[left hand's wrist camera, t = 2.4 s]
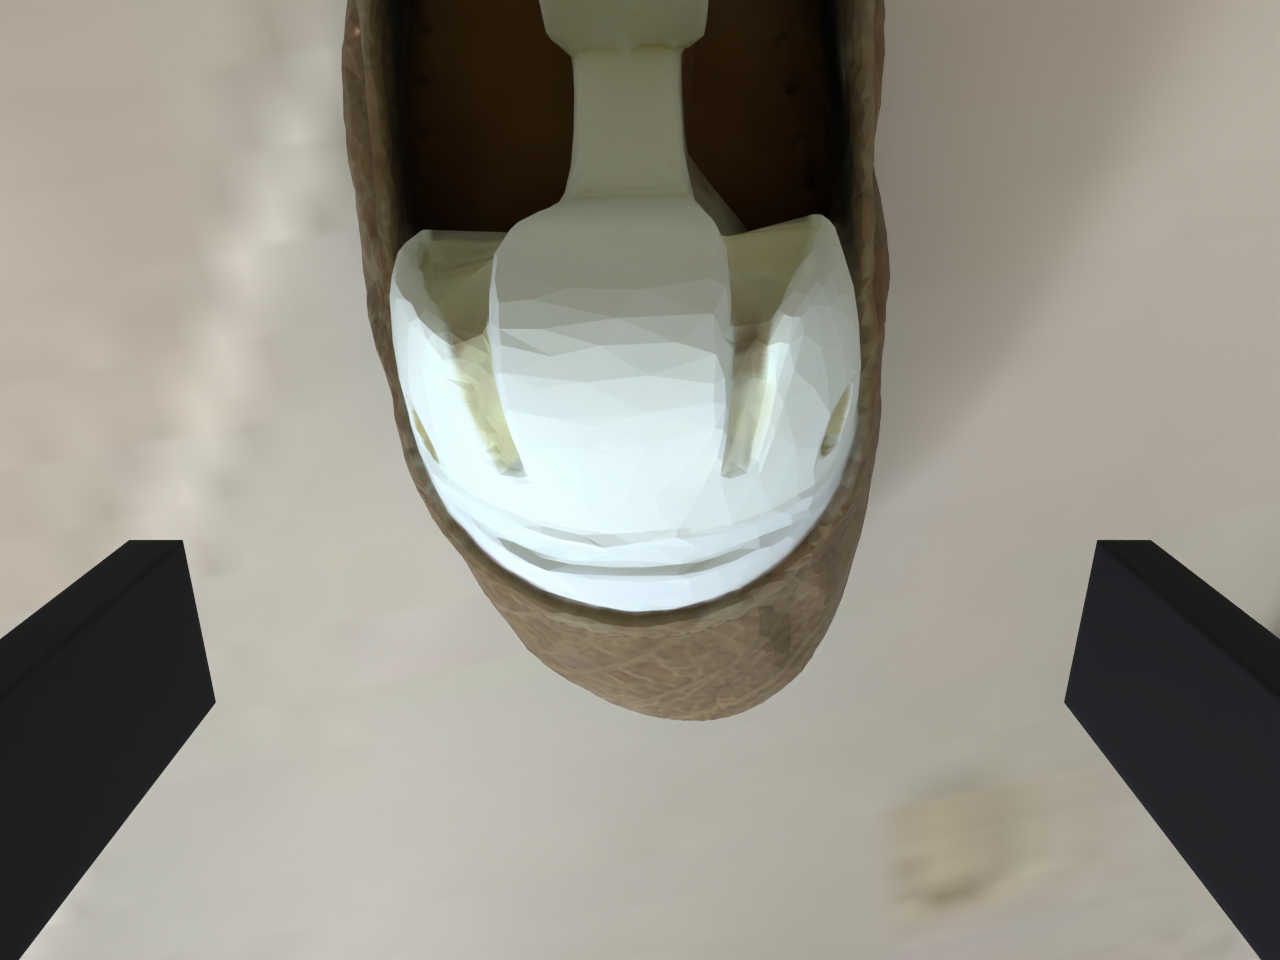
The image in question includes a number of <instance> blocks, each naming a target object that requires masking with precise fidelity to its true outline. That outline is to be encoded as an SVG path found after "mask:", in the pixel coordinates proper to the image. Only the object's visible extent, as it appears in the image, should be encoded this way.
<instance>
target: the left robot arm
mask: <svg viewBox="0 0 1280 960" xmlns="http://www.w3.org/2000/svg"><path fill="white" fill-rule="evenodd" d="M215 703H216V701H215V696H214V691H213V686H212V681H211V676H210V672H209V667H208V662H207V657H206V652H205V647H204V642H203V637H202V632H201V627H200V623H199V618H198V613H197V608H196V603H195V598H194V593H193V588H192V583H191V578H190V574H189V569H188V564H187V559H186V554H185V549H184V544H183V540H129V541H128V542H126V543H125V544H124V545H122V546H121V547H120V548H118V549H117V550H116V551H115V552H113V553H112V554H111V555H109V556H108V557H107V558H105V559H104V560H103V561H101V562H100V563H99V564H98V565H96V566H95V567H94V568H92V569H91V570H90V571H88V572H87V573H86V574H85V575H83V576H82V577H81V578H79V579H78V580H77V581H75V582H74V583H73V584H72V585H70V586H69V587H68V588H66V589H65V590H64V591H62V592H61V593H60V594H58V595H57V596H56V597H55V598H53V599H52V600H51V601H49V602H48V603H47V604H45V605H44V606H43V607H42V608H40V609H39V610H38V611H36V612H35V613H34V614H32V615H31V616H30V617H29V618H27V619H26V620H25V621H23V622H22V623H21V624H19V625H18V626H17V627H16V628H14V629H13V630H12V631H10V632H9V633H8V634H6V635H5V636H4V637H2V638H1V639H0V960H19V959H20V958H21V956H22V955H23V954H24V952H25V951H26V950H27V948H28V947H29V946H30V945H31V943H32V942H33V941H34V939H35V938H36V937H37V935H38V934H39V933H40V931H41V930H42V929H43V928H44V926H45V925H46V924H47V922H48V921H49V920H50V918H51V917H52V916H53V914H54V913H55V912H56V911H57V909H58V908H59V907H60V905H61V904H62V903H63V901H64V900H65V899H66V897H67V896H68V895H69V894H70V892H71V891H72V890H73V888H74V887H75V886H76V884H77V883H78V882H79V880H80V879H81V878H82V877H83V875H84V874H85V873H86V871H87V870H88V869H89V867H90V866H91V865H92V864H93V862H94V861H95V860H96V858H97V857H98V856H99V854H100V853H101V852H102V850H103V849H104V848H105V847H106V845H107V844H108V843H109V841H110V840H111V839H112V837H113V836H114V835H115V833H116V832H117V831H118V830H119V828H120V827H121V826H122V824H123V823H124V822H125V820H126V819H127V818H128V816H129V815H130V814H131V813H132V811H133V810H134V809H135V807H136V806H137V805H138V803H139V802H140V801H141V799H142V798H143V797H144V796H145V794H146V793H147V792H148V790H149V789H150V788H151V786H152V785H153V784H154V782H155V781H156V780H157V779H158V777H159V776H160V775H161V773H162V772H163V771H164V769H165V768H166V767H167V766H168V764H169V763H170V762H171V760H172V759H173V758H174V756H175V755H176V754H177V752H178V751H179V750H180V749H181V747H182V746H183V745H184V743H185V742H186V741H187V739H188V738H189V737H190V735H191V734H192V733H193V732H194V730H195V729H196V728H197V726H198V725H199V724H200V722H201V721H202V720H203V718H204V717H205V716H206V715H207V713H208V712H209V711H210V709H211V708H212V707H213V705H214V704H215ZM1064 703H1065V704H1066V705H1067V707H1068V708H1069V709H1070V711H1071V712H1072V713H1073V715H1074V716H1075V717H1076V718H1077V720H1078V721H1079V722H1080V724H1081V725H1082V726H1083V728H1084V729H1085V730H1086V732H1087V733H1088V734H1089V735H1090V737H1091V738H1092V739H1093V741H1094V742H1095V743H1096V745H1097V746H1098V747H1099V749H1100V750H1101V751H1102V752H1103V754H1104V755H1105V756H1106V758H1107V759H1108V760H1109V762H1110V763H1111V764H1112V766H1113V767H1114V768H1115V769H1116V771H1117V772H1118V773H1119V775H1120V776H1121V777H1122V779H1123V780H1124V781H1125V782H1126V784H1127V785H1128V786H1129V788H1130V789H1131V790H1132V792H1133V793H1134V794H1135V796H1136V797H1137V798H1138V799H1139V801H1140V802H1141V803H1142V805H1143V806H1144V807H1145V809H1146V810H1147V811H1148V813H1149V814H1150V815H1151V816H1152V818H1153V819H1154V820H1155V822H1156V823H1157V824H1158V826H1159V827H1160V828H1161V830H1162V831H1163V832H1164V833H1165V835H1166V836H1167V837H1168V839H1169V840H1170V841H1171V843H1172V844H1173V845H1174V847H1175V848H1176V849H1177V850H1178V852H1179V853H1180V854H1181V856H1182V857H1183V858H1184V860H1185V861H1186V862H1187V864H1188V865H1189V866H1190V867H1191V869H1192V870H1193V871H1194V873H1195V874H1196V875H1197V877H1198V878H1199V879H1200V880H1201V882H1202V883H1203V884H1204V886H1205V887H1206V888H1207V890H1208V891H1209V892H1210V894H1211V895H1212V896H1213V897H1214V899H1215V900H1216V901H1217V903H1218V904H1219V905H1220V907H1221V908H1222V909H1223V911H1224V912H1225V913H1226V914H1227V916H1228V917H1229V918H1230V920H1231V921H1232V922H1233V924H1234V925H1235V926H1236V928H1237V929H1238V930H1239V931H1240V933H1241V934H1242V935H1243V937H1244V938H1245V939H1246V941H1247V942H1248V943H1249V945H1250V946H1251V947H1252V948H1253V950H1254V951H1255V952H1256V954H1257V955H1258V956H1259V958H1260V959H1261V960H1280V639H1279V638H1278V637H1276V636H1275V635H1274V634H1272V633H1271V632H1270V631H1268V630H1267V629H1266V628H1264V627H1263V626H1262V625H1261V624H1259V623H1258V622H1257V621H1255V620H1254V619H1253V618H1251V617H1250V616H1249V615H1248V614H1246V613H1245V612H1244V611H1242V610H1241V609H1240V608H1238V607H1237V606H1236V605H1235V604H1233V603H1232V602H1231V601H1229V600H1228V599H1227V598H1225V597H1224V596H1223V595H1222V594H1220V593H1219V592H1218V591H1216V590H1215V589H1214V588H1212V587H1211V586H1210V585H1208V584H1207V583H1206V582H1205V581H1203V580H1202V579H1201V578H1199V577H1198V576H1197V575H1195V574H1194V573H1193V572H1192V571H1190V570H1189V569H1188V568H1186V567H1185V566H1184V565H1182V564H1181V563H1180V562H1179V561H1177V560H1176V559H1175V558H1173V557H1172V556H1171V555H1169V554H1168V553H1167V552H1165V551H1164V550H1163V549H1162V548H1160V547H1159V546H1158V545H1156V544H1155V543H1154V542H1152V541H1151V540H1097V544H1096V549H1095V554H1094V559H1093V564H1092V569H1091V574H1090V578H1089V583H1088V588H1087V593H1086V598H1085V603H1084V608H1083V613H1082V618H1081V623H1080V627H1079V632H1078V637H1077V642H1076V647H1075V652H1074V657H1073V662H1072V667H1071V672H1070V676H1069V681H1068V686H1067V691H1066V696H1065V701H1064Z"/></svg>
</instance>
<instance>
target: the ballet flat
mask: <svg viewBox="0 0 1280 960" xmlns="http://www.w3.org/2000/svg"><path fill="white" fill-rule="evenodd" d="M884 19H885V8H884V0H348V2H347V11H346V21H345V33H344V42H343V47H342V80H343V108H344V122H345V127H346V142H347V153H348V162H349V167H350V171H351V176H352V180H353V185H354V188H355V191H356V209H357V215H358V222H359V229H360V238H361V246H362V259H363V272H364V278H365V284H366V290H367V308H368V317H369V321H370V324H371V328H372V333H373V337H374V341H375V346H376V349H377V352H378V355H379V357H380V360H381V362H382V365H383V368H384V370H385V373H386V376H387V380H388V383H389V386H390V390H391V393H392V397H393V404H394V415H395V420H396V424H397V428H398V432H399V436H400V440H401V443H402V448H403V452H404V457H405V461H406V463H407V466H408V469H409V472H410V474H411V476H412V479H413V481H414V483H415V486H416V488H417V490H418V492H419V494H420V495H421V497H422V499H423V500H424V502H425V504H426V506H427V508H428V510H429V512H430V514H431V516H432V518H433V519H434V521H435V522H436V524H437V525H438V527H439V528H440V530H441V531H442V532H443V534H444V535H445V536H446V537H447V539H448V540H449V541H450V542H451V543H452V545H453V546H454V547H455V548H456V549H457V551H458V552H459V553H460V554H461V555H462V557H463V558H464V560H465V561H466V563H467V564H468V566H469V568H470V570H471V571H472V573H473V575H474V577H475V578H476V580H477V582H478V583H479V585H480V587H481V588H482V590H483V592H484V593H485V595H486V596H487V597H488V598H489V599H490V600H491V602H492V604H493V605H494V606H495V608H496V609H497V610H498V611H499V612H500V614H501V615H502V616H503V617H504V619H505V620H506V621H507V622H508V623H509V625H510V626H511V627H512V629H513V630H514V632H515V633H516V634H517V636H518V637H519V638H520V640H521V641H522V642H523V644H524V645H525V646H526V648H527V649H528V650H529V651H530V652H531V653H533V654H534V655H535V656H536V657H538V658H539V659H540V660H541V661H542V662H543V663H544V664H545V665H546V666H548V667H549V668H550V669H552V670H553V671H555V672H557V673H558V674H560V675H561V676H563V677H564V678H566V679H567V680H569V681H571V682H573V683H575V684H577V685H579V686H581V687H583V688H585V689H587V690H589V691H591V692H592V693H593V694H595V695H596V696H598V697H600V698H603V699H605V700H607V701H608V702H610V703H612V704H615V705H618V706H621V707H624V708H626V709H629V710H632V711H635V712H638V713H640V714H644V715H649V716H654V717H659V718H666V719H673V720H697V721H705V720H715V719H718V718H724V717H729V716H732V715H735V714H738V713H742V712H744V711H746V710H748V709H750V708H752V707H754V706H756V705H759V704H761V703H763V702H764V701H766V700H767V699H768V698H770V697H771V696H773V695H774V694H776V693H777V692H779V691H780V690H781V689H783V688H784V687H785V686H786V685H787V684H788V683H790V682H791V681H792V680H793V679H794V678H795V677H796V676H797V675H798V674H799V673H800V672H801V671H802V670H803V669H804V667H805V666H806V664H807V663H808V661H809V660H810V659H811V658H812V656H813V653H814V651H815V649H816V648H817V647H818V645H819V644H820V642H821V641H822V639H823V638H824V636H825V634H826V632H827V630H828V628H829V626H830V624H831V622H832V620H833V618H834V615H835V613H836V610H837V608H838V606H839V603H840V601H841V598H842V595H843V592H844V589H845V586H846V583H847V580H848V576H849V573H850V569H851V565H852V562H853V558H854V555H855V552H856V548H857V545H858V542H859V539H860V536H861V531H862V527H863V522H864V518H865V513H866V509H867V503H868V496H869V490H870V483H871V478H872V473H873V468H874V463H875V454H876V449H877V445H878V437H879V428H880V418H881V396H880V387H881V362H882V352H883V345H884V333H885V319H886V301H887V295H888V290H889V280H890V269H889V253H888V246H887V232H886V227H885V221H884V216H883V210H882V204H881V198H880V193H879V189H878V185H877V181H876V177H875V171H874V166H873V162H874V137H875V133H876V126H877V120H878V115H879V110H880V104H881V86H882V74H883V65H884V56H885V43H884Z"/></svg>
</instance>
